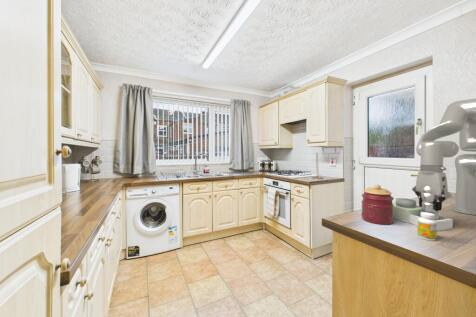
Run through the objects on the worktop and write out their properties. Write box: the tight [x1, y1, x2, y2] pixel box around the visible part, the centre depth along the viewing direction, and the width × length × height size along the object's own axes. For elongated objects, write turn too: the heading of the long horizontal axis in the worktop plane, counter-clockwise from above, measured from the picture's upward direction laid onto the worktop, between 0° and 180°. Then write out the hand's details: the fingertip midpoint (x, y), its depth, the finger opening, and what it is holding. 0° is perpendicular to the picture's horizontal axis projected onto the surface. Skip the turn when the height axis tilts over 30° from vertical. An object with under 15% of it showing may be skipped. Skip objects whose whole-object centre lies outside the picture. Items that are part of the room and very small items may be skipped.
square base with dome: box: [392, 197, 454, 232], centre depth 100 cm, size 12×22×9 cm, turn 15°
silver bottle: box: [420, 186, 440, 221], centre depth 94 cm, size 6×7×20 cm
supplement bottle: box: [417, 212, 437, 242], centre depth 81 cm, size 5×5×10 cm
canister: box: [360, 184, 394, 226], centre depth 101 cm, size 13×13×18 cm
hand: (429, 208), depth 95 cm, fingers closed on silver bottle, 5 cm apart
